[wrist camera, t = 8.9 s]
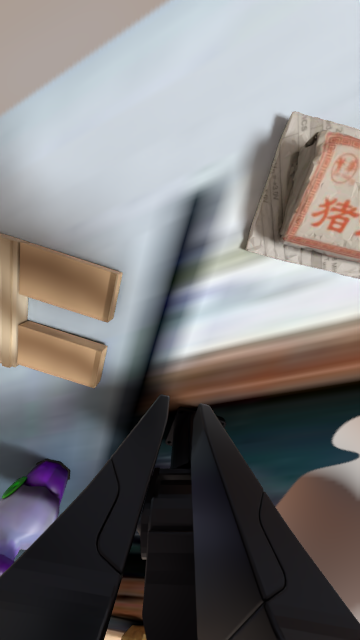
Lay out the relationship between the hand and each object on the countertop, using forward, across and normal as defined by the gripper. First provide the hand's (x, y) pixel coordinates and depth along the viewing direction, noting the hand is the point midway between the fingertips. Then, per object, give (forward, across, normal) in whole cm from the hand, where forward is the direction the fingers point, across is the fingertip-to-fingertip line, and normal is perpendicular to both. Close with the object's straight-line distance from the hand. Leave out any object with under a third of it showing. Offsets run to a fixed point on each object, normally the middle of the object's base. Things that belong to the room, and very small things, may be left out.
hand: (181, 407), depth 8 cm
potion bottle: (+13, +14, +30) cm, 36 cm away
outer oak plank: (+13, +12, 0) cm, 18 cm away
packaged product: (+14, -13, -12) cm, 23 cm away
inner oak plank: (+13, +12, +8) cm, 20 cm away
